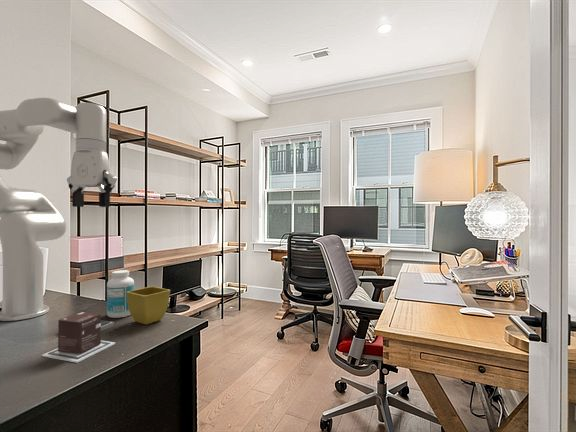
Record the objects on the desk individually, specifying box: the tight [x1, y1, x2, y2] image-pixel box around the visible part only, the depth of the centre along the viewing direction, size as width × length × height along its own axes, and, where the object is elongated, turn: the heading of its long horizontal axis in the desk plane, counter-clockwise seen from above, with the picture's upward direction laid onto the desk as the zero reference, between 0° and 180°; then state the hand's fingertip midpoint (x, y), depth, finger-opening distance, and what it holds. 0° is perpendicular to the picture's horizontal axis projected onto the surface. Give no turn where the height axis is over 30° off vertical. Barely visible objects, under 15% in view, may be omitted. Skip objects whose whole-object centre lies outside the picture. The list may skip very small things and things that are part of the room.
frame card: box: [41, 339, 116, 363], centre depth 72 cm, size 10×10×1 cm
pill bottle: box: [106, 269, 135, 319], centre depth 96 cm, size 8×7×14 cm
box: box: [57, 311, 102, 354], centre depth 72 cm, size 6×6×7 cm
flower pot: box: [126, 285, 171, 325], centre depth 91 cm, size 9×9×9 cm
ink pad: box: [101, 320, 115, 332], centre depth 84 cm, size 9×9×1 cm
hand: (91, 206), depth 91 cm, fingers open, 9 cm apart
